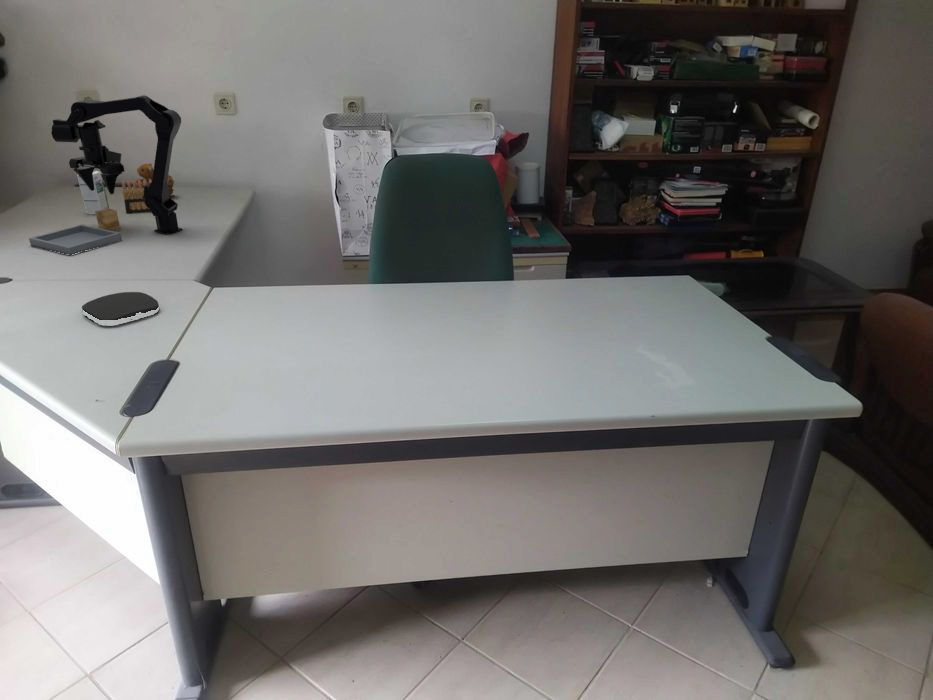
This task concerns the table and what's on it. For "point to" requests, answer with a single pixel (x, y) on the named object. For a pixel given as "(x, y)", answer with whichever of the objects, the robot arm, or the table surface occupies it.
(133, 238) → the table surface
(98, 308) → the media streaming box
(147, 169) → the stuffed squirrel
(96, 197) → the syrup box
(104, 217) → the block
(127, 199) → the ammunition clip
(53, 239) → the tray
